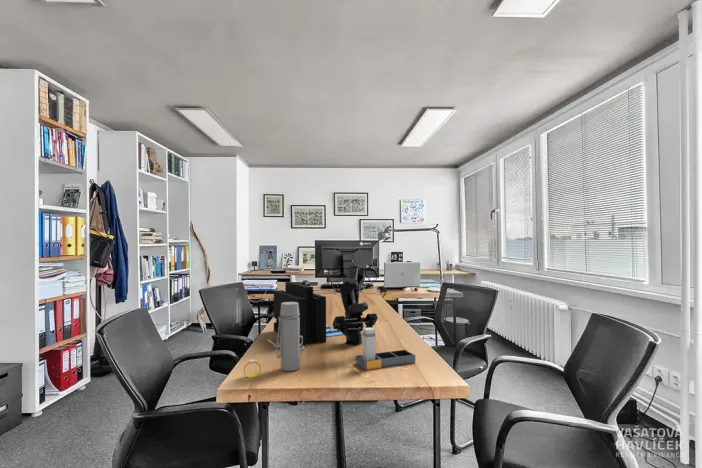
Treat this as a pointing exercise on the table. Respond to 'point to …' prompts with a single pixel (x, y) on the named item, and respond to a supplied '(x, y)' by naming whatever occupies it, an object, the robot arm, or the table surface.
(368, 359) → the white capped pillar
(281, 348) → the water bottle
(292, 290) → the game console
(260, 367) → the yellow ring
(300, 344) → the wall mount rack
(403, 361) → the rack
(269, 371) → the table surface
